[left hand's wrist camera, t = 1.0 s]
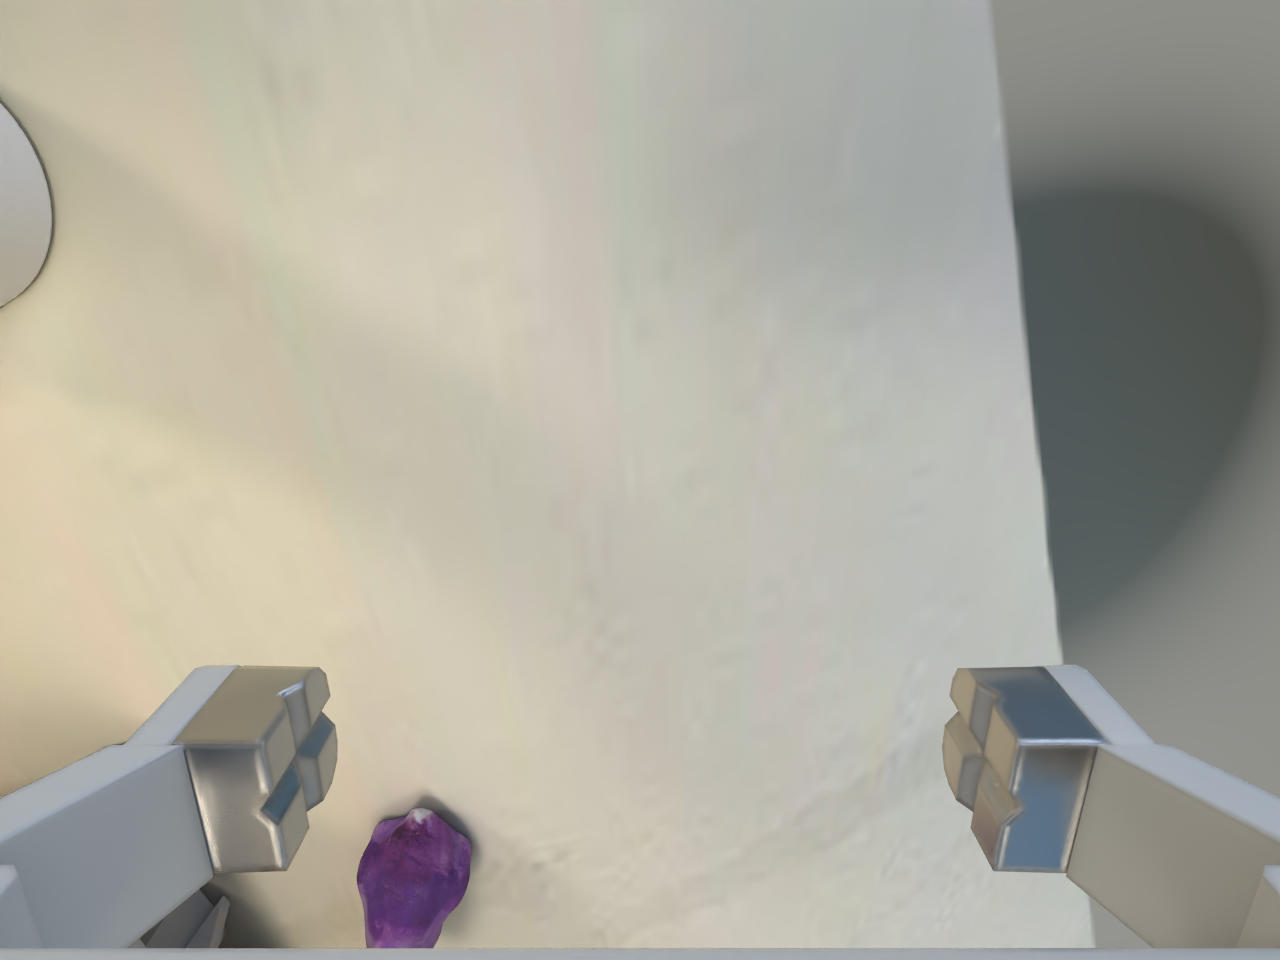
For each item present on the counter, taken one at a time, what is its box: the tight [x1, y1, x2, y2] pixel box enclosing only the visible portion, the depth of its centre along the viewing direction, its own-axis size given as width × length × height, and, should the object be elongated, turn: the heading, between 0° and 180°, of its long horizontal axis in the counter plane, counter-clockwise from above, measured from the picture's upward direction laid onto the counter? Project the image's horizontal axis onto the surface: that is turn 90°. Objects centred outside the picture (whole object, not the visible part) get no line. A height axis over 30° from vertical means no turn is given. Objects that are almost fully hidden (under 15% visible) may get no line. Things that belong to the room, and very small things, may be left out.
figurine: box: [357, 808, 472, 948], centre depth 57 cm, size 9×10×15 cm
